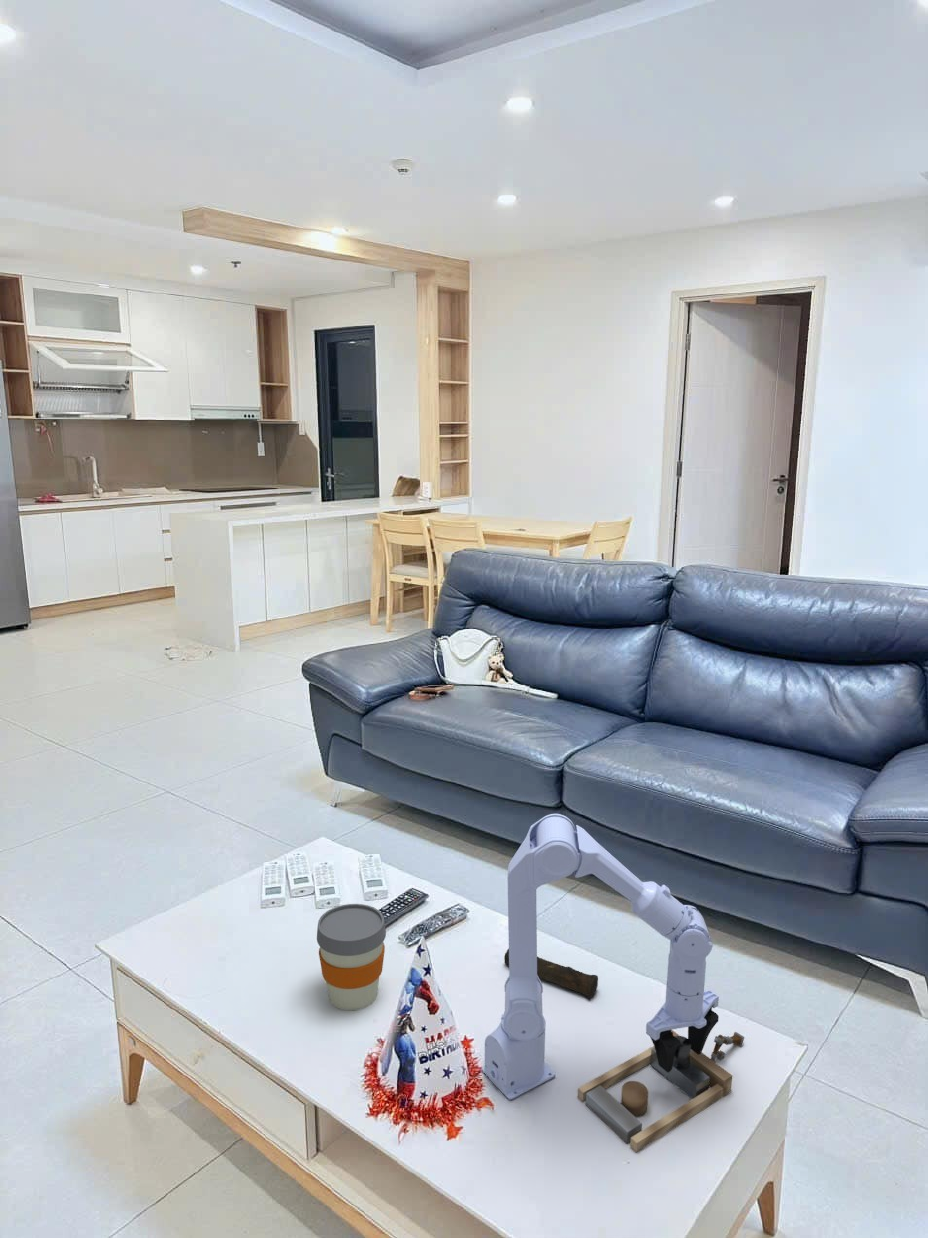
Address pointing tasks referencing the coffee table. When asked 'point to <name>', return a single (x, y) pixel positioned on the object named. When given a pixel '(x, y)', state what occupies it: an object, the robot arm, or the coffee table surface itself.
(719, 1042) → the jointed folding linkage
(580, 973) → the dark brown log
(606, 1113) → the vise frame
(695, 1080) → the block
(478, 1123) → the coffee table surface
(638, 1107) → the brown wooden cylinder
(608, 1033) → the coffee table surface
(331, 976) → the reusable coffee cup
